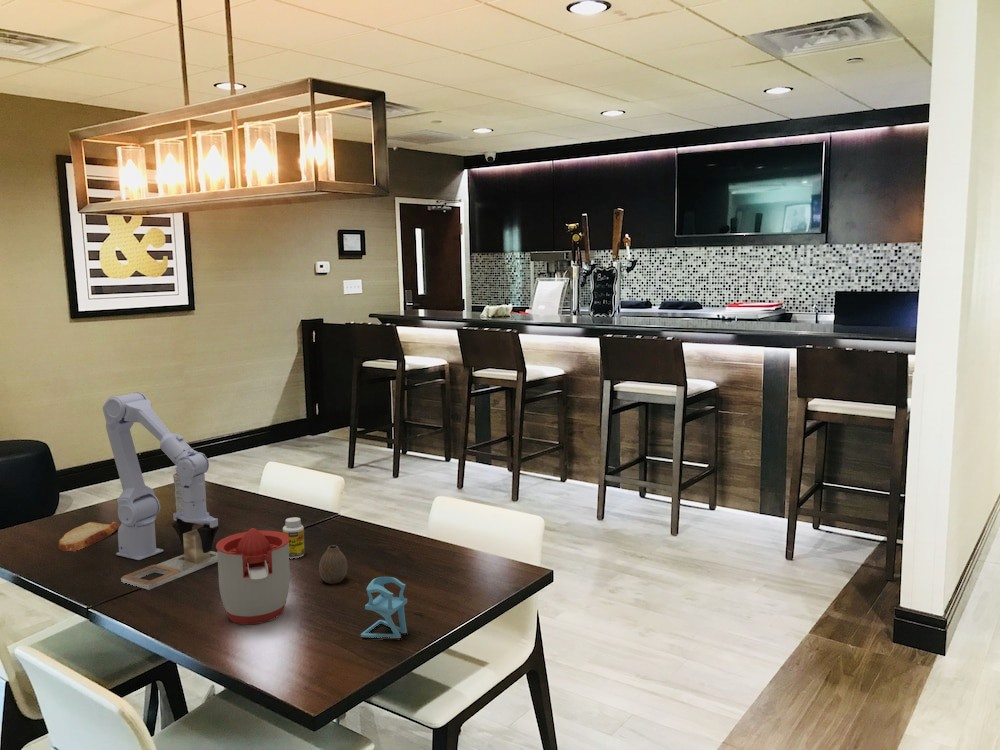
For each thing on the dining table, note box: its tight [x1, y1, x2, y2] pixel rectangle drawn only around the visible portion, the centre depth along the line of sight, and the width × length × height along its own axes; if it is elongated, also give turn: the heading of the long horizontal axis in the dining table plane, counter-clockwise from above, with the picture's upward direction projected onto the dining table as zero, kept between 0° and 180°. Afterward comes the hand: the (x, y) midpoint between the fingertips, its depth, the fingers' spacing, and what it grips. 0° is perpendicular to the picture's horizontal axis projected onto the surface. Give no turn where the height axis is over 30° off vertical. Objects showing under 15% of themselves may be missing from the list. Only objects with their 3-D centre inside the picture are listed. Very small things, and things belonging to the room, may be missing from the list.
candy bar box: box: [172, 473, 196, 526], centre depth 240 cm, size 11×5×16 cm, turn 179°
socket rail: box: [120, 550, 218, 591], centre depth 200 cm, size 10×24×2 cm, turn 153°
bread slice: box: [57, 521, 120, 552], centre depth 225 cm, size 18×18×4 cm
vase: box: [318, 544, 349, 585], centre depth 193 cm, size 7×7×9 cm
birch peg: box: [183, 528, 210, 563], centre depth 206 cm, size 4×4×8 cm
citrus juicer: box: [215, 527, 291, 626], centre depth 172 cm, size 16×17×20 cm
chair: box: [360, 576, 408, 639], centre depth 163 cm, size 8×8×12 cm
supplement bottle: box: [282, 516, 305, 560], centre depth 210 cm, size 6×6×10 cm
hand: (197, 549), depth 206 cm, fingers open, 7 cm apart
